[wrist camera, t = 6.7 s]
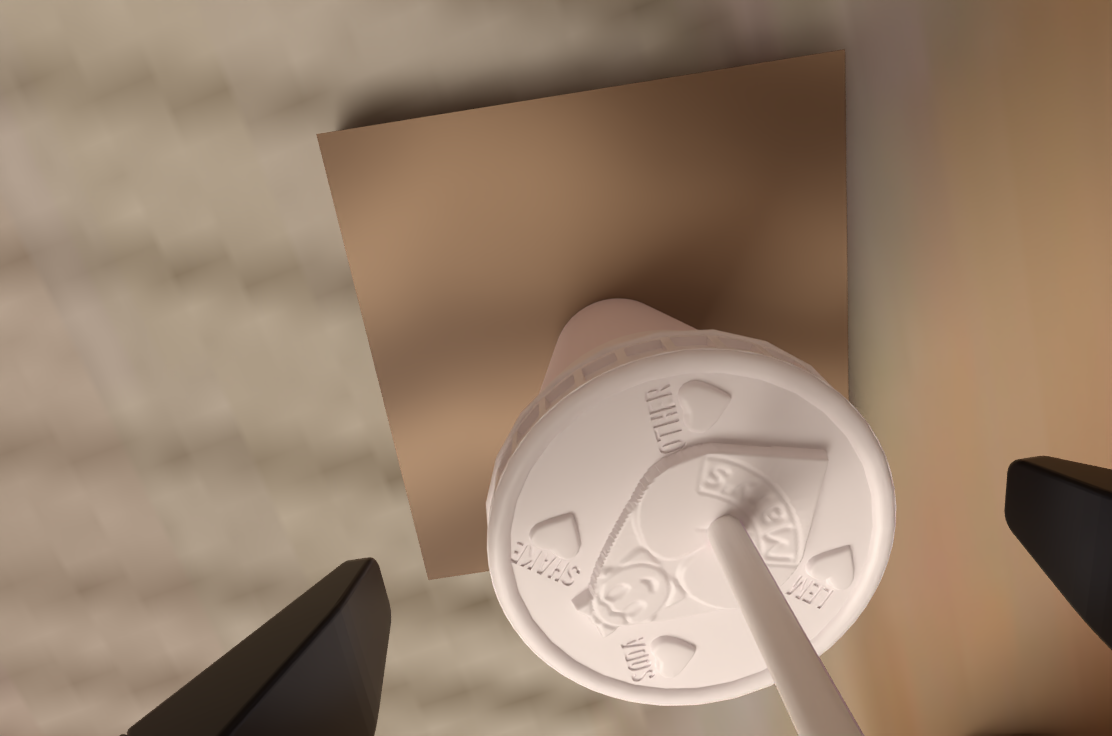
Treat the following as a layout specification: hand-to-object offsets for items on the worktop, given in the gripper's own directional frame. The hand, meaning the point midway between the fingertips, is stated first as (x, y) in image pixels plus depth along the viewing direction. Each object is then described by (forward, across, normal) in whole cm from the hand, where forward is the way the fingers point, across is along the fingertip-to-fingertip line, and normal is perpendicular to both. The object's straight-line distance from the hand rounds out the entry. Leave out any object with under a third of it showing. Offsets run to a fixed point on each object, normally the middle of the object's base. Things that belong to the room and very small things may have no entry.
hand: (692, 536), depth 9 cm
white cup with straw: (+10, 0, 0) cm, 10 cm away
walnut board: (+12, 0, 0) cm, 12 cm away
